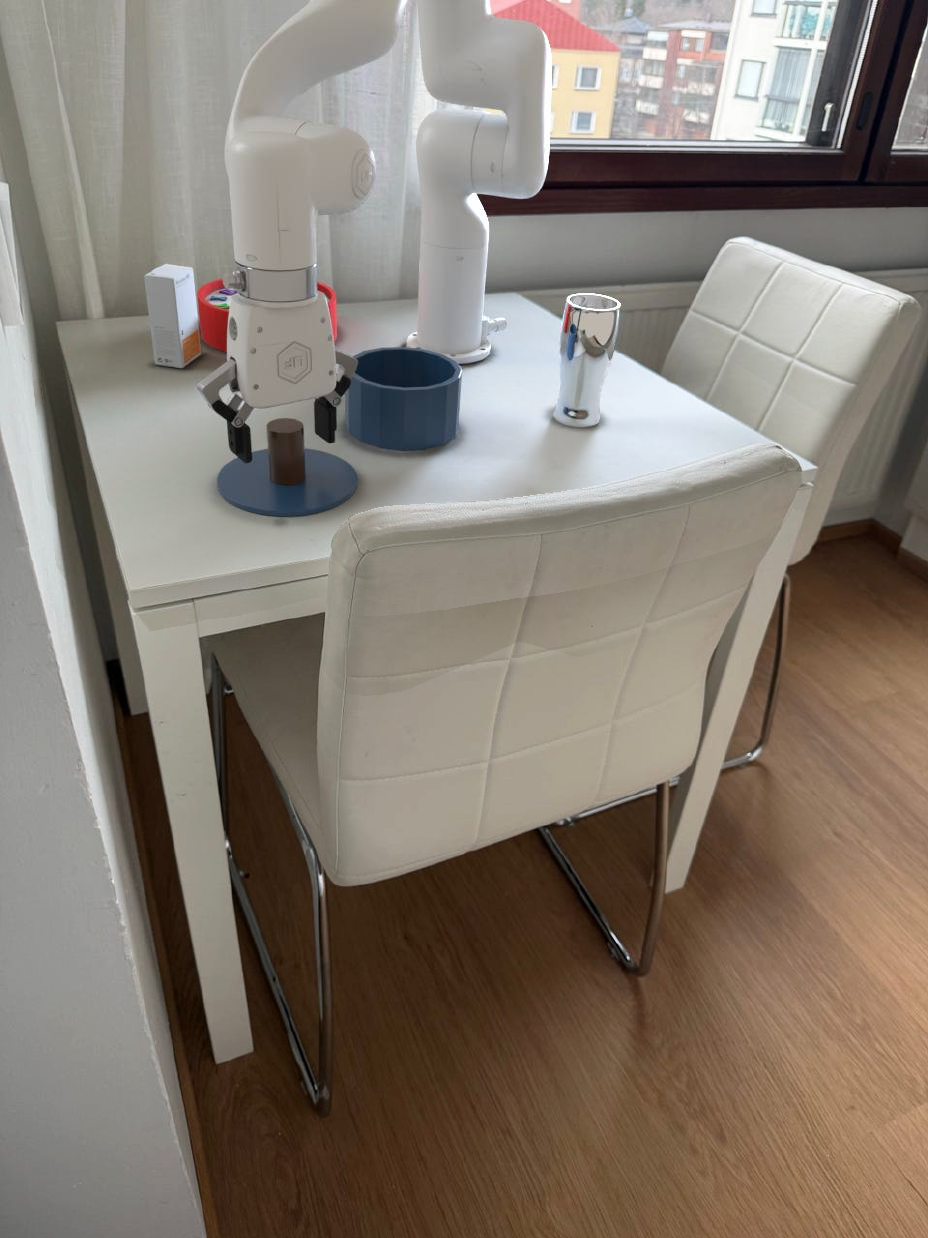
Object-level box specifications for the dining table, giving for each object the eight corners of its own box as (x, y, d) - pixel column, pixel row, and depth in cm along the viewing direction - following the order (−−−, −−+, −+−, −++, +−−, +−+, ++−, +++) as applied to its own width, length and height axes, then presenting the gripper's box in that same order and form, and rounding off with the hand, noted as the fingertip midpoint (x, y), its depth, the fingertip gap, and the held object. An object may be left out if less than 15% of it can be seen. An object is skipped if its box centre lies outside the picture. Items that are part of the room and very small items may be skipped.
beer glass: (607, 413, 121) (627, 298, 112) (596, 433, 116) (615, 314, 107) (557, 403, 123) (572, 289, 114) (543, 422, 117) (558, 304, 109)
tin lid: (313, 446, 107) (311, 387, 103) (383, 498, 98) (384, 437, 94) (194, 475, 100) (187, 413, 96) (258, 535, 91) (253, 470, 86)
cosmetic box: (183, 369, 124) (173, 278, 117) (154, 365, 124) (141, 274, 117) (203, 354, 129) (193, 266, 122) (174, 350, 129) (163, 262, 122)
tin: (415, 400, 120) (417, 340, 116) (479, 439, 112) (484, 376, 107) (325, 421, 113) (324, 358, 109) (386, 464, 105) (387, 398, 100)
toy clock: (226, 323, 122) (177, 281, 136) (230, 365, 126) (182, 320, 139) (360, 306, 132) (302, 268, 145) (360, 346, 135) (303, 305, 148)
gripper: (208, 303, 79) (224, 481, 89) (376, 280, 88) (373, 444, 98) (172, 280, 84) (191, 451, 94) (335, 261, 93) (337, 419, 103)
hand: (284, 447), depth 96 cm, fingers open, 9 cm apart
